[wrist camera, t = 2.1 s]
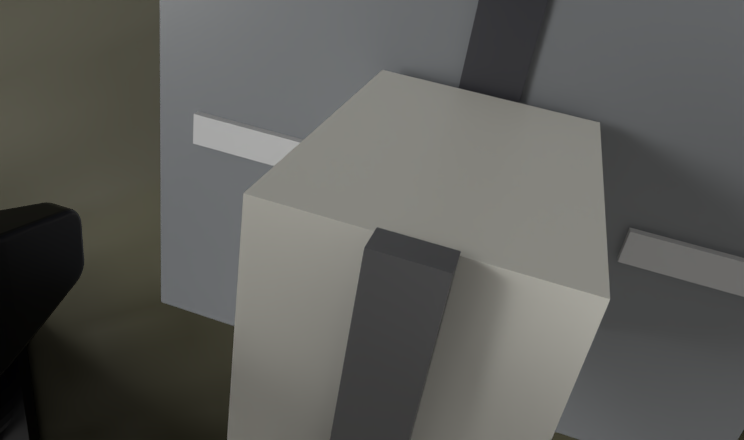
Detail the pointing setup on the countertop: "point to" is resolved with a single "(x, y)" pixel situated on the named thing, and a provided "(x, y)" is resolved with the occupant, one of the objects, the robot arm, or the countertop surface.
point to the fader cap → (420, 271)
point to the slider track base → (518, 84)
